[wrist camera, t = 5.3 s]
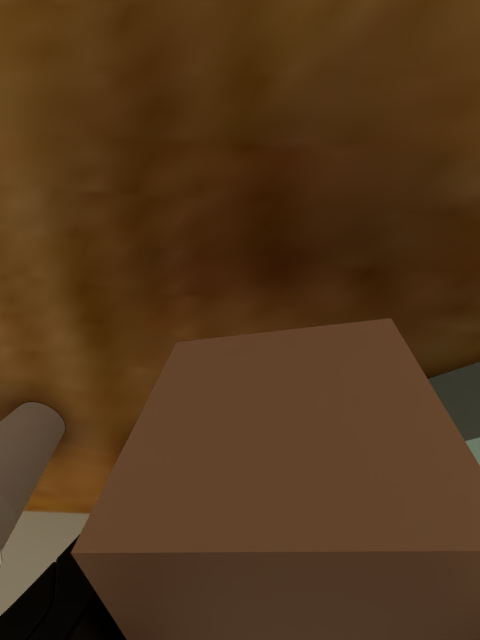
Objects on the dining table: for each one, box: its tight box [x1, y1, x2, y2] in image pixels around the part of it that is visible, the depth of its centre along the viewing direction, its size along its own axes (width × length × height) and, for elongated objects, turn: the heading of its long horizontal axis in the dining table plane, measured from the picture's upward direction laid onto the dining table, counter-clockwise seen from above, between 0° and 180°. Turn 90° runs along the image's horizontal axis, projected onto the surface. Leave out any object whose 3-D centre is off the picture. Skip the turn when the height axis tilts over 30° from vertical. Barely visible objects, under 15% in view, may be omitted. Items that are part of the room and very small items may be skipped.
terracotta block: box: [71, 318, 480, 640], centre depth 7 cm, size 5×5×5 cm
